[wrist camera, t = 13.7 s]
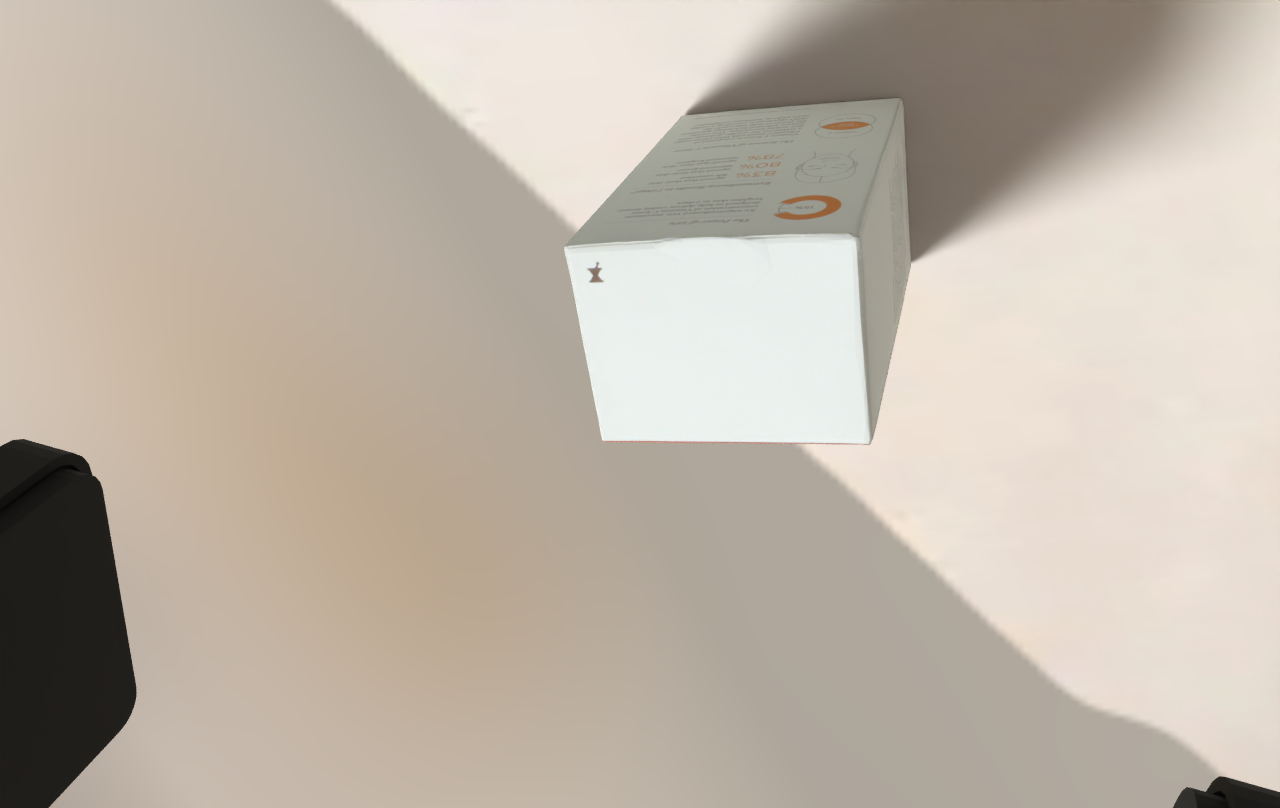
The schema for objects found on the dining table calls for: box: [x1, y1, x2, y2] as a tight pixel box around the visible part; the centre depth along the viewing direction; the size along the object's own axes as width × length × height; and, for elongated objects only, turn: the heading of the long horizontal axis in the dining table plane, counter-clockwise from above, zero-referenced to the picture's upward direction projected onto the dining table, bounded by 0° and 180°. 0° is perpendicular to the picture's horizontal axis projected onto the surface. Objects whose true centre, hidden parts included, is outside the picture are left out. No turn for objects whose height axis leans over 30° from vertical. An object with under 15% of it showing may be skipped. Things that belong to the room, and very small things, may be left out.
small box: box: [564, 98, 911, 445], centre depth 37 cm, size 8×6×13 cm
